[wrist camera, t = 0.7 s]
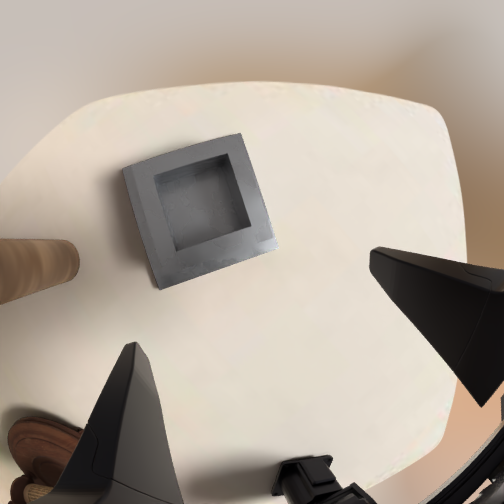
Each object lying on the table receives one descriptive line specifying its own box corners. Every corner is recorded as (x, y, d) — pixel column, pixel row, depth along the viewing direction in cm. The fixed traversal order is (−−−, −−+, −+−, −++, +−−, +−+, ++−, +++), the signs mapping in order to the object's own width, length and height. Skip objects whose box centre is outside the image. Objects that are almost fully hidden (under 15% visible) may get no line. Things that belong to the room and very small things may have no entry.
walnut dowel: (77, 285, 20) (-19, 326, 7) (44, 277, 19) (-59, 306, 6) (82, 243, 20) (-19, 244, 7) (48, 237, 19) (-58, 233, 6)
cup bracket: (276, 247, 23) (294, 248, 19) (160, 288, 21) (154, 298, 17) (239, 135, 22) (249, 115, 18) (123, 170, 20) (111, 155, 16)
